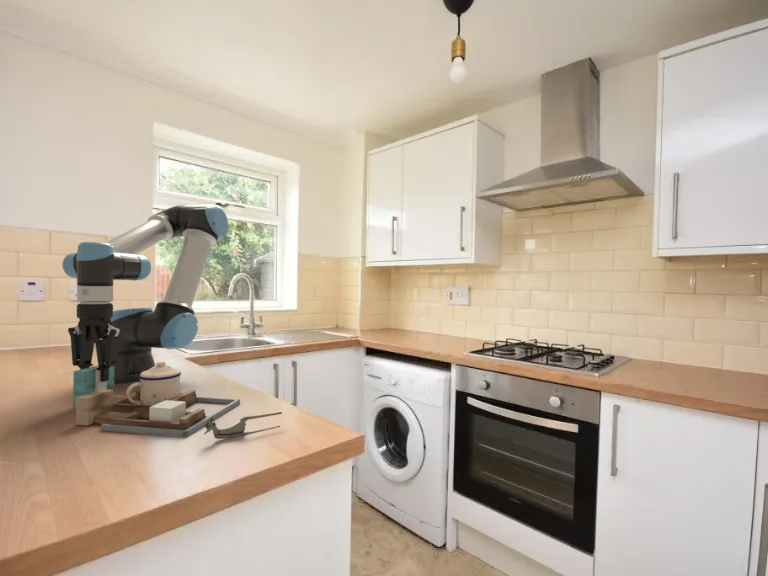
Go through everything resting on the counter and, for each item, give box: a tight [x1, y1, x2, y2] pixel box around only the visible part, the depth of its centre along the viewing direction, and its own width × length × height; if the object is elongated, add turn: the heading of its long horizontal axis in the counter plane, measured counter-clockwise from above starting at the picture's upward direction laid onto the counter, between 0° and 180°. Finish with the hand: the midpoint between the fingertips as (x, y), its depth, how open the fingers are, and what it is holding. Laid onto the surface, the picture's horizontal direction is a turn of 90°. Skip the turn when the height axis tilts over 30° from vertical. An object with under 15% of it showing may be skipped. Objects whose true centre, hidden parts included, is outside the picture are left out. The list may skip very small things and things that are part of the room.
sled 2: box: [75, 389, 206, 430], centre depth 87 cm, size 8×26×6 cm, turn 83°
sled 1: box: [72, 365, 197, 413], centre depth 99 cm, size 12×26×9 cm, turn 83°
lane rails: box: [100, 396, 241, 438], centre depth 92 cm, size 22×20×1 cm
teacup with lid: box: [125, 361, 182, 406], centre depth 96 cm, size 12×9×12 cm
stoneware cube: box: [148, 400, 187, 423], centre depth 86 cm, size 5×5×5 cm
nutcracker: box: [203, 411, 283, 440], centre depth 82 cm, size 16×1×5 cm, turn 126°
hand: (94, 393), depth 100 cm, fingers closed on sled 1, 3 cm apart
